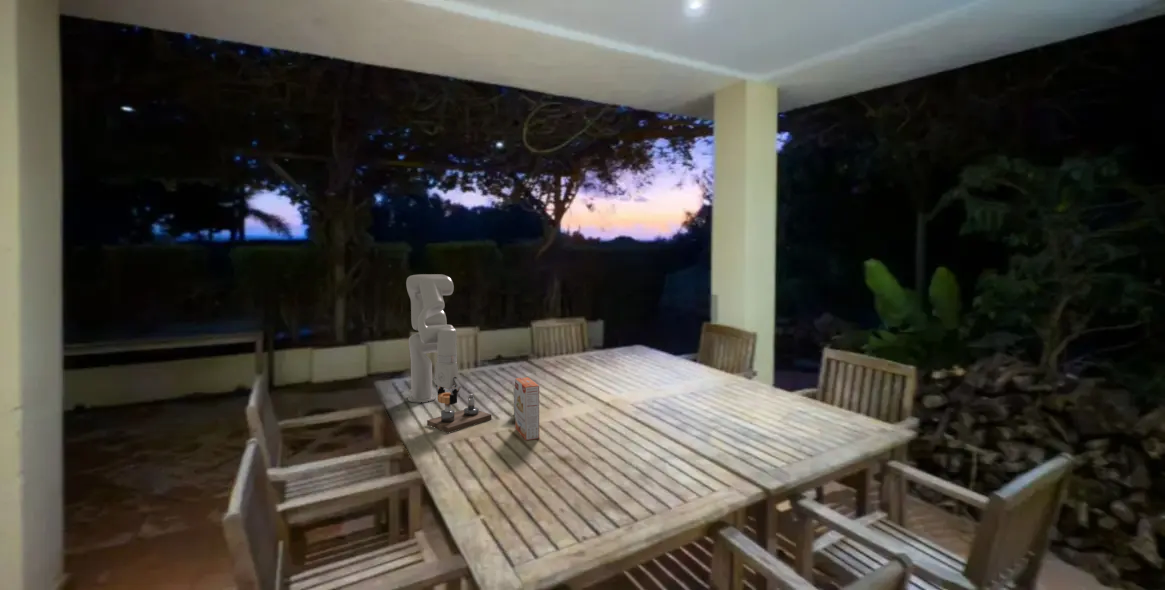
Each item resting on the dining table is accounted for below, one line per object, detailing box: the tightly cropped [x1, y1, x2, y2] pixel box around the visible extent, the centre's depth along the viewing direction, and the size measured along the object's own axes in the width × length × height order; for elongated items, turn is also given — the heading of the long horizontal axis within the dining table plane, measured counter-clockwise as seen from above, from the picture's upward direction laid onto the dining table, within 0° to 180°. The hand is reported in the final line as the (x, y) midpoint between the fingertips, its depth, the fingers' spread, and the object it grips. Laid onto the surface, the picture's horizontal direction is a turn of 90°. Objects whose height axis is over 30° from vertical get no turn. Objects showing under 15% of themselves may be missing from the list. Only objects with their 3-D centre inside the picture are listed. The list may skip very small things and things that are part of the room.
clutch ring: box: [437, 391, 451, 404], centre depth 213 cm, size 7×7×2 cm
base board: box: [426, 409, 492, 434], centre depth 218 cm, size 14×22×2 cm, turn 141°
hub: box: [463, 393, 480, 416], centre depth 223 cm, size 6×6×8 cm
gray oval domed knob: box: [440, 403, 455, 423], centre depth 213 cm, size 5×5×8 cm
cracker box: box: [514, 377, 540, 441], centre depth 204 cm, size 14×6×21 cm, turn 23°
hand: (447, 401), depth 213 cm, fingers closed on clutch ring, 7 cm apart
